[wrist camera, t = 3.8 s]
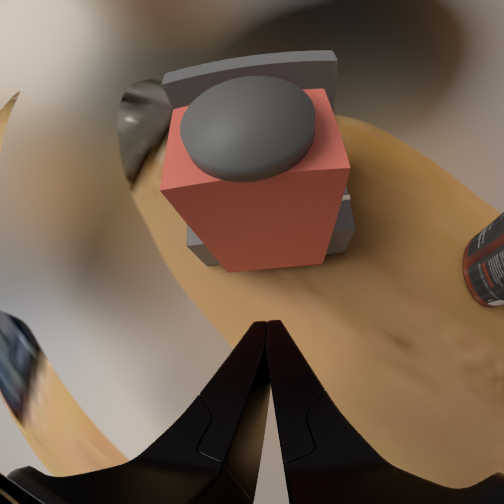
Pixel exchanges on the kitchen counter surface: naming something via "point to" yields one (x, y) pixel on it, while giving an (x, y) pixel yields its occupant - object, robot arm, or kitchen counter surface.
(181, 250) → the kitchen counter surface
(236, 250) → the pink block with dome
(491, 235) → the supplement bottle
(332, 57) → the housing
